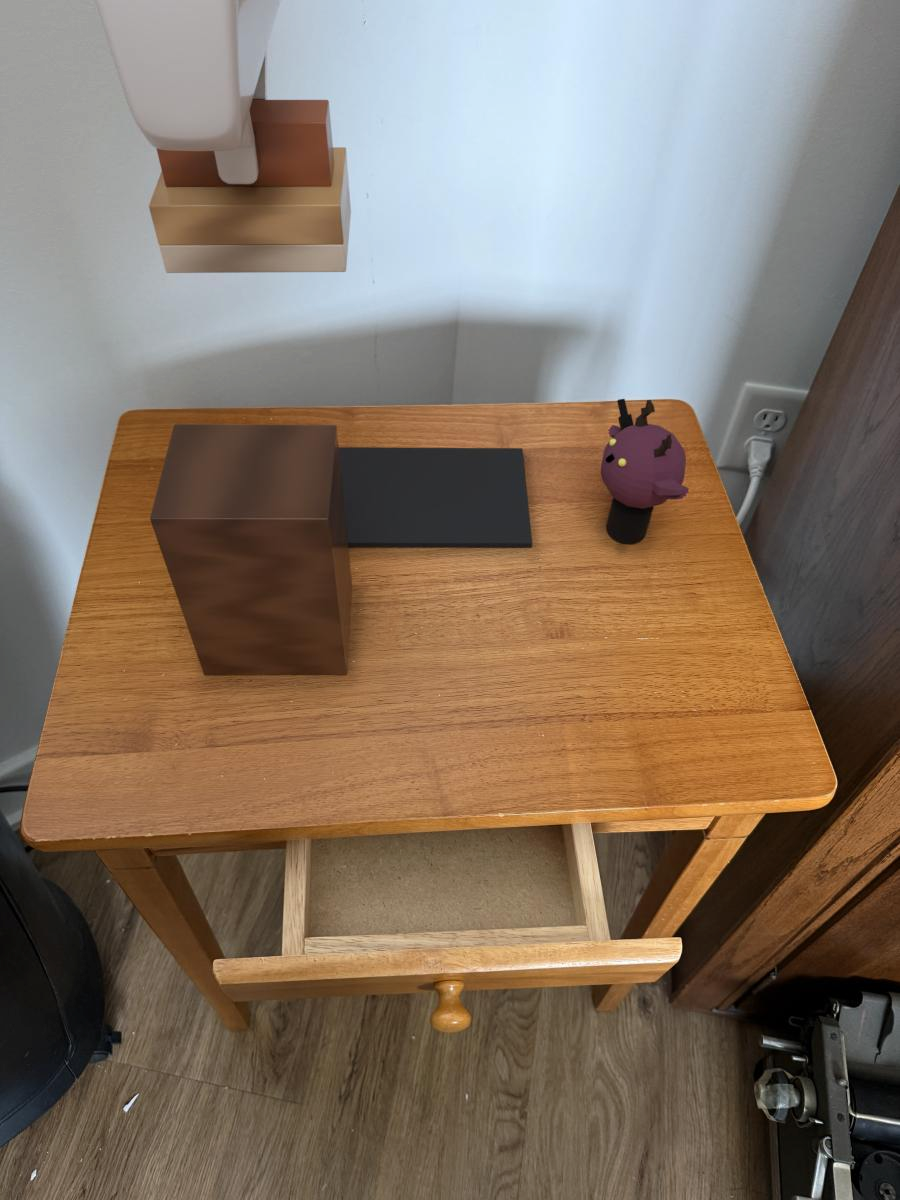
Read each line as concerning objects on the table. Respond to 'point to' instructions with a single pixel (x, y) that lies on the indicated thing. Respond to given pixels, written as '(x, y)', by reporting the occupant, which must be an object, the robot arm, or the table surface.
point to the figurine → (640, 473)
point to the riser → (258, 546)
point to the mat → (435, 497)
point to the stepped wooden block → (259, 200)
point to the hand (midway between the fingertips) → (247, 157)
